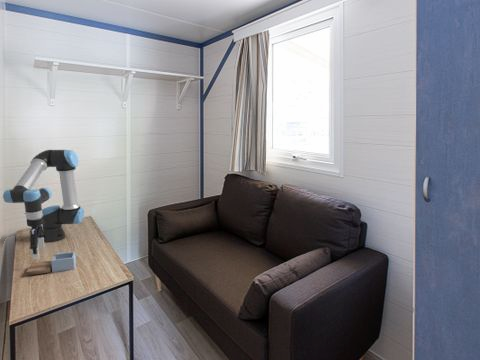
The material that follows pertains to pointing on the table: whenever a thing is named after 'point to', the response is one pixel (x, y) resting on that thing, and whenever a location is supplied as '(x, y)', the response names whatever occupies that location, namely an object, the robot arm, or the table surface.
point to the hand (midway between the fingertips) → (39, 253)
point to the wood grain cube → (39, 268)
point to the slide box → (63, 261)
